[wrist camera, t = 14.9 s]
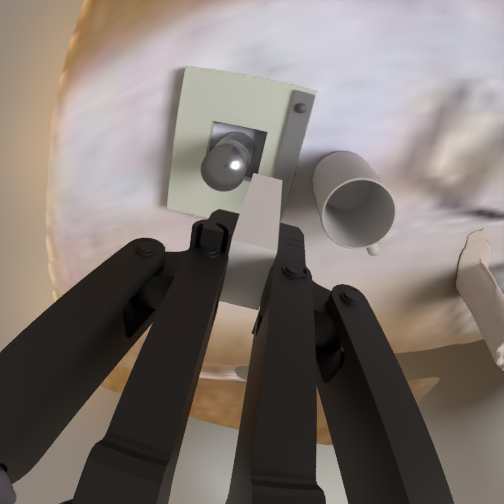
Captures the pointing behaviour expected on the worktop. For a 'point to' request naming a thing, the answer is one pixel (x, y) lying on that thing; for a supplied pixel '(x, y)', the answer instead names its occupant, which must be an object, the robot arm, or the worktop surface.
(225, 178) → the grey metal cylinder
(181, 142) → the plate
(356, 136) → the worktop surface
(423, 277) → the worktop surface
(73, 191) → the worktop surface
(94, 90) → the worktop surface
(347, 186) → the mug
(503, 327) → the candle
